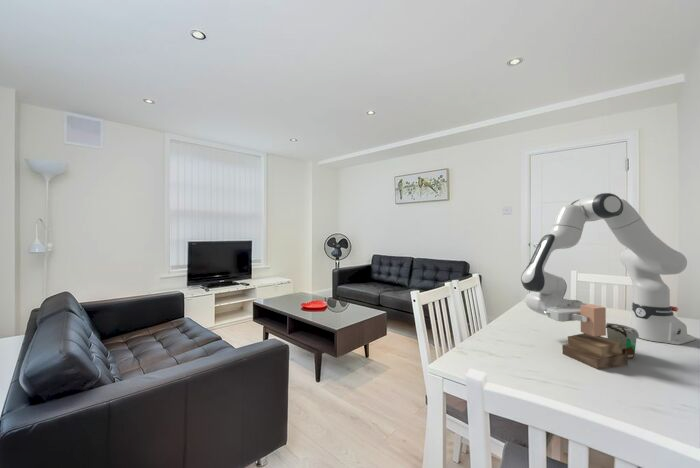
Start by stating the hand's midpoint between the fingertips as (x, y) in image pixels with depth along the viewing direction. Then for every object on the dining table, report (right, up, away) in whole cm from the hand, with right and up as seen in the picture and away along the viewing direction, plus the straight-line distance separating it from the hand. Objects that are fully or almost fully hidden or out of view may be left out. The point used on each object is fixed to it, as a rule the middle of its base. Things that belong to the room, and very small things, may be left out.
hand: (595, 319), depth 106 cm
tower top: (0, -11, +1) cm, 12 cm away
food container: (+16, -15, +5) cm, 22 cm away
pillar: (0, -5, +1) cm, 6 cm away
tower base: (0, -15, +1) cm, 16 cm away
